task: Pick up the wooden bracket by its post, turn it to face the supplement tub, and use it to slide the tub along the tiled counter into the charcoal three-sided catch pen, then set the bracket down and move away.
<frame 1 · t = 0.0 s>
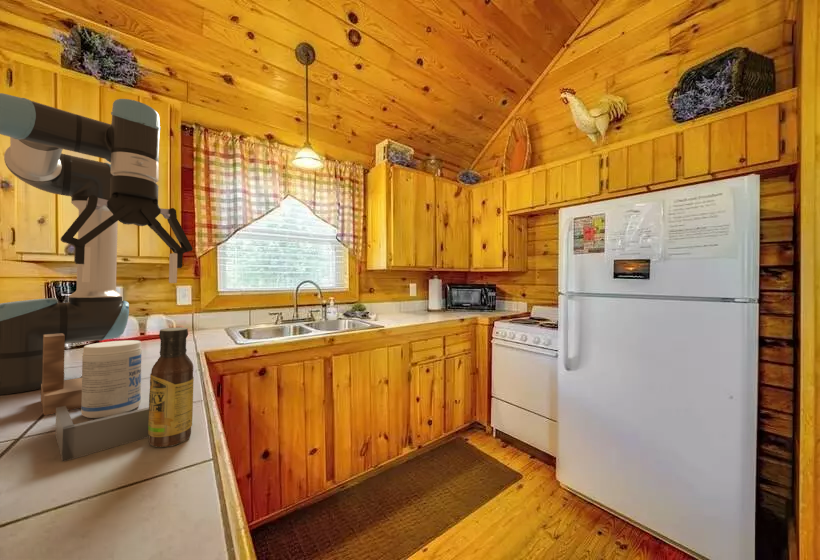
hand: (132, 282, 65), 28 cm above the counter, fingers open, 13 cm apart
supplement tub: (112, 411, 70), on the counter
catch pen: (126, 429, 61), on the counter
wooden bracket: (52, 405, 72), on the counter
sauce bottle: (170, 442, 56), on the counter
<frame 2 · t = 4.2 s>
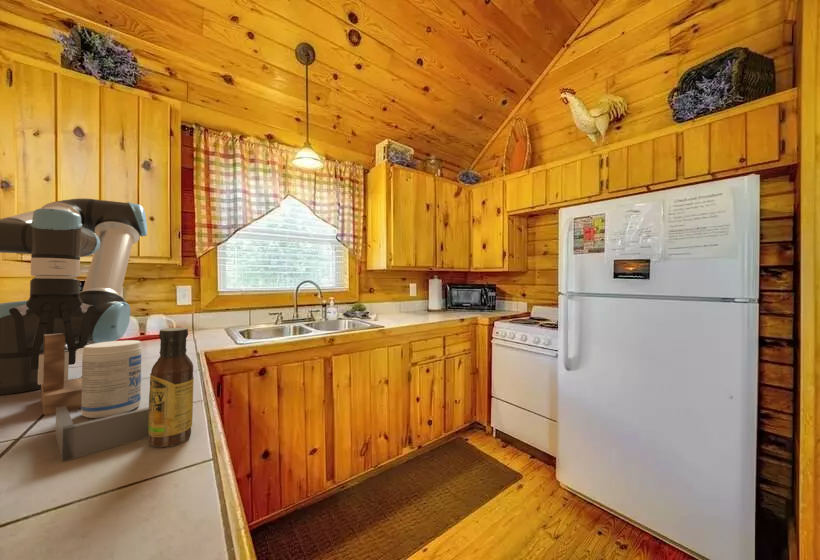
hand: (53, 381, 72), 6 cm above the counter, fingers closed on wooden bracket, 3 cm apart
wooden bracket: (52, 405, 72), on the counter, touching gripper
everything else where it was.
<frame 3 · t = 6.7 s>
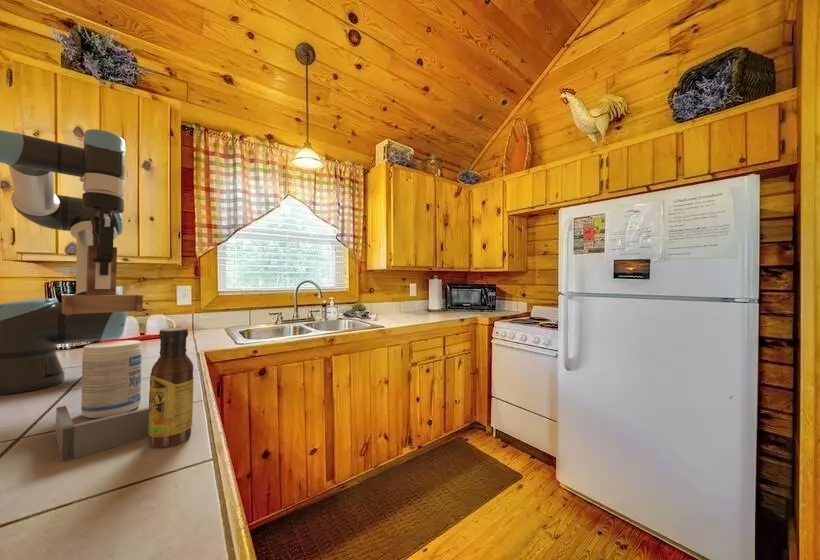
hand: (101, 288, 79), 26 cm above the counter, fingers closed on wooden bracket, 3 cm apart
wooden bracket: (100, 311, 79), point 21 cm above the counter, touching gripper
everything else where it was.
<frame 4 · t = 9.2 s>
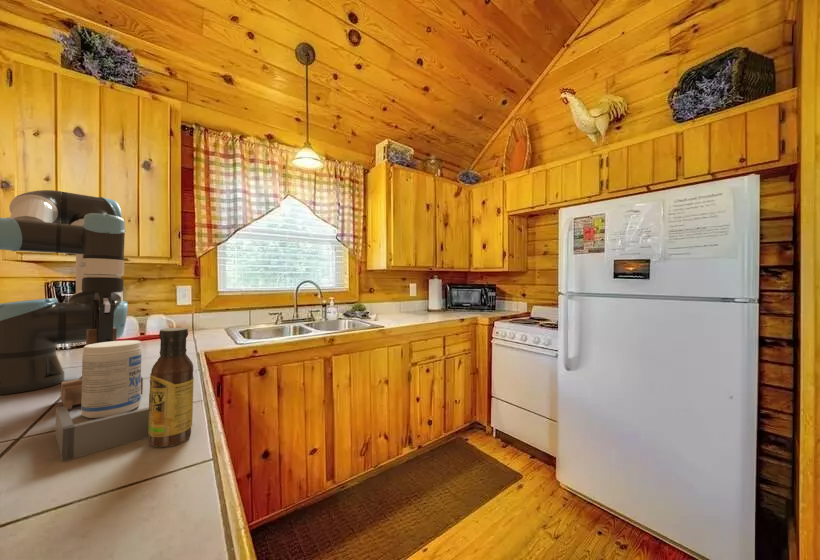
hand: (101, 370, 79), 6 cm above the counter, fingers closed on wooden bracket, 3 cm apart
wooden bracket: (100, 393, 79), on the counter, touching gripper
everything else where it was.
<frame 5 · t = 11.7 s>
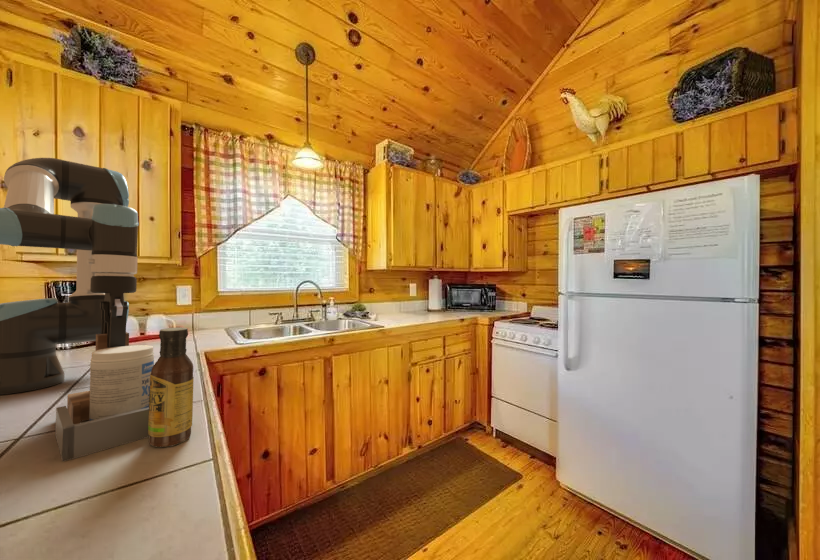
hand: (111, 381, 70), 6 cm above the counter, fingers closed on wooden bracket, 3 cm apart
supplement tub: (122, 423, 64), on the counter, touching wooden bracket
wooden bracket: (110, 406, 70), point 1 cm above the counter, touching gripper, supplement tub
everything else where it was.
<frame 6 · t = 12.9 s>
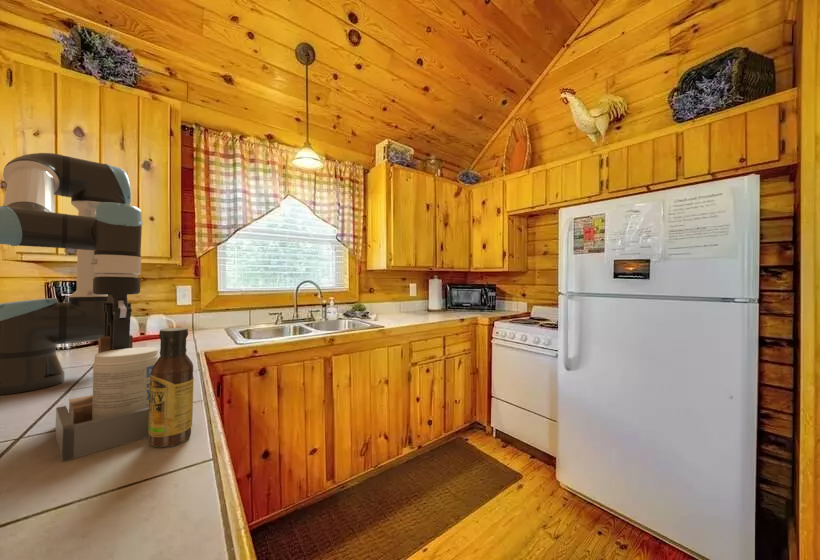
hand: (114, 385, 68), 6 cm above the counter, fingers closed on wooden bracket, 3 cm apart
supplement tub: (126, 428, 62), on the counter, touching wooden bracket
wooden bracket: (113, 411, 68), on the counter, touching gripper, supplement tub
everything else where it was.
when the fingers open (6 cm above the counter, at t = 14.3 s): wooden bracket stays where it is, on the counter.
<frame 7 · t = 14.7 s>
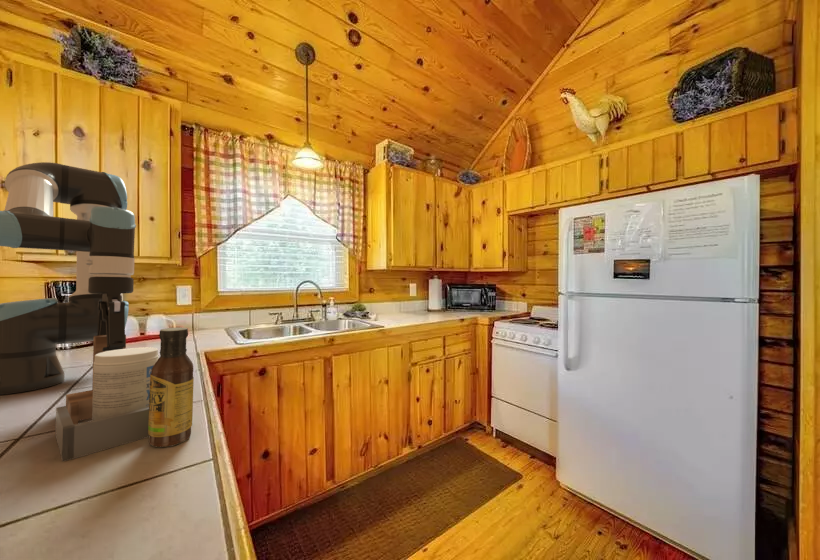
hand: (109, 375, 72), 7 cm above the counter, fingers open, 9 cm apart
supplement tub: (126, 428, 62), on the counter
wooden bracket: (108, 406, 72), on the counter
everything else where it was.
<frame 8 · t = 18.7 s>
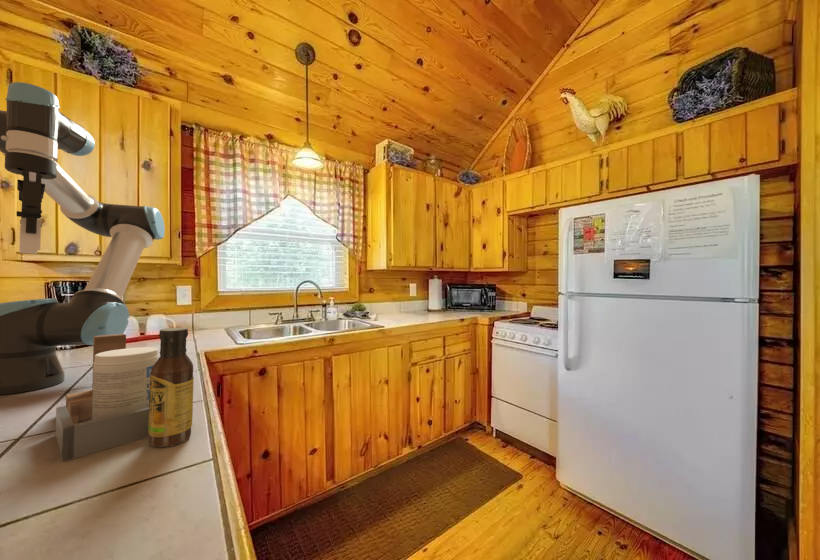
hand: (29, 251, 71), 35 cm above the counter, fingers open, 13 cm apart
nothing on the counter moved.
at the end: supplement tub inside the target area on the catch pen (1.4 cm from its centre), point 0.0 cm above the catch pen's base; supplement tub tilted 0°; the gripper is holding nothing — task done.
